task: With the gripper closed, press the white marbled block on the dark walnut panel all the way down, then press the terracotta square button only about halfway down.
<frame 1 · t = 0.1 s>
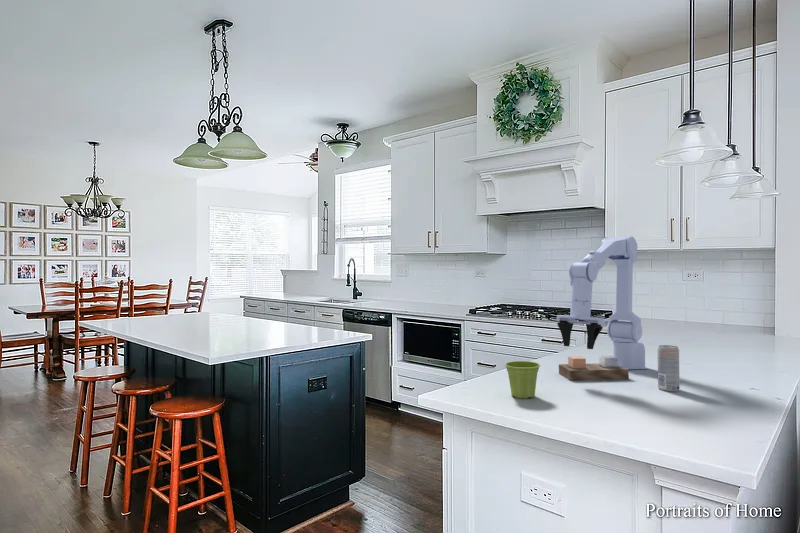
hand: (578, 347, 154), 11 cm above the counter, tool pointing down, fingers open, 7 cm apart
button panel: (592, 376, 162), on the counter
plant pot: (522, 396, 140), on the counter
energy drink: (668, 390, 145), on the counter
white marbled block: (608, 361, 162), point 4 cm above the counter, slide at 0.0 cm
terracotta button: (576, 362, 162), point 4 cm above the counter, slide at 0.0 cm
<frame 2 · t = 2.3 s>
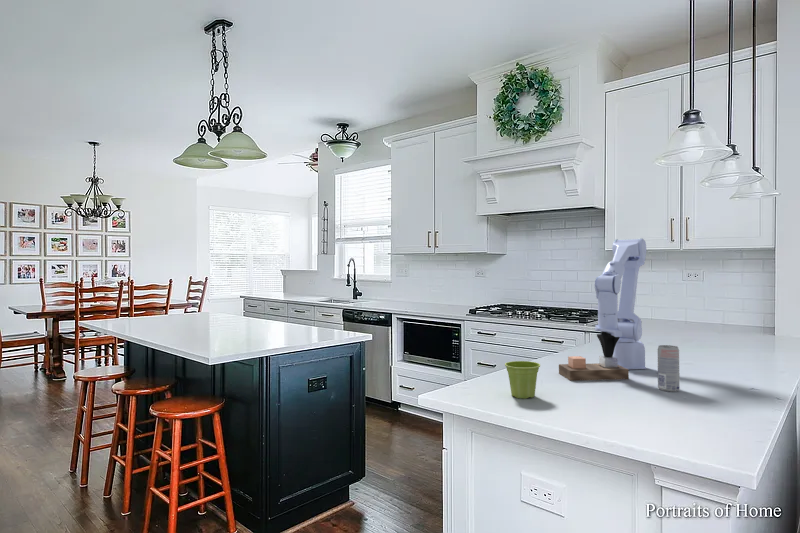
hand: (608, 357, 162), 6 cm above the counter, tool pointing down, fingers closed, pressing on white marbled block
white marbled block: (608, 361, 162), point 4 cm above the counter, slide at 0.0 cm, touching gripper
everything else where it was.
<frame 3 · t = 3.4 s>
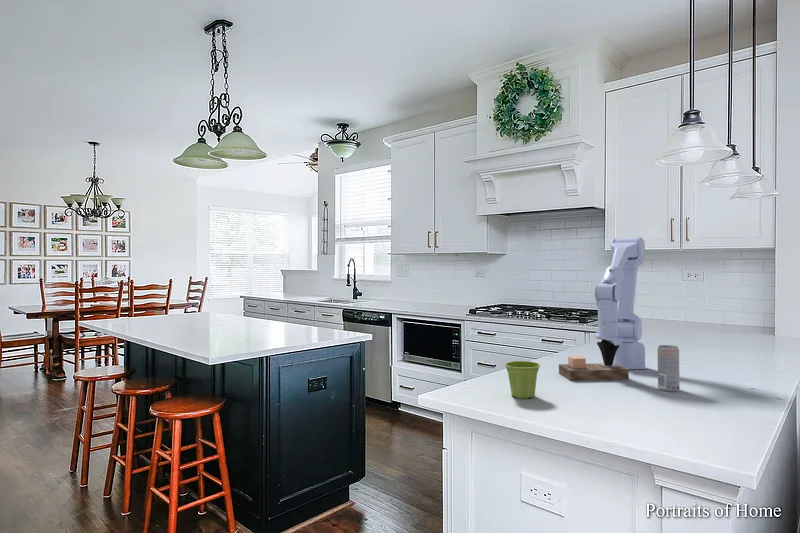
hand: (608, 364, 162), 3 cm above the counter, tool pointing down, fingers closed
white marbled block: (608, 369, 162), point 2 cm above the counter, slide at 2.5 cm
everything else where it was.
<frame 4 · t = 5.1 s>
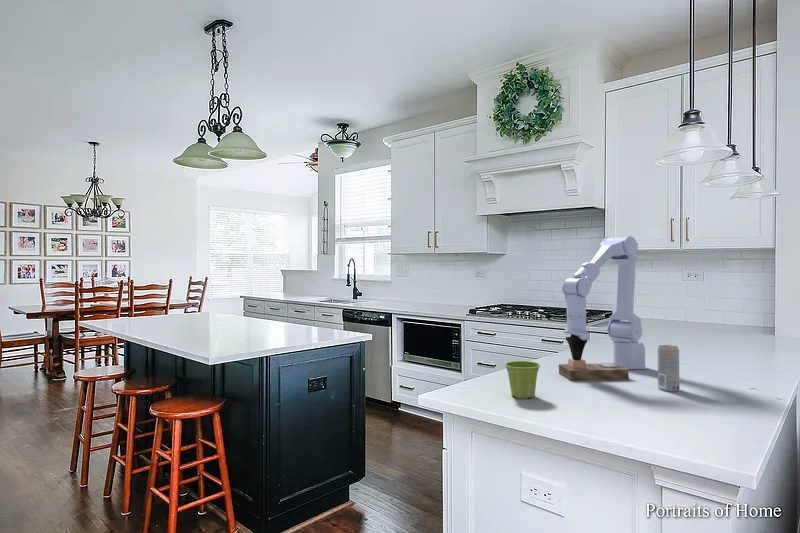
hand: (576, 359, 162), 5 cm above the counter, tool pointing down, fingers closed, pressing on terracotta button
terracotta button: (576, 364, 162), point 4 cm above the counter, slide at 0.7 cm, touching gripper
everything else where it was.
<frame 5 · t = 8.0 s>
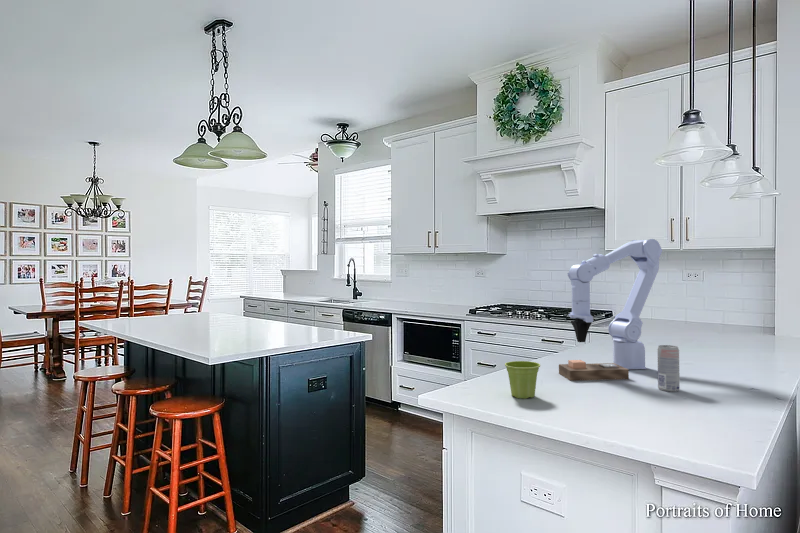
hand: (581, 341, 171), 9 cm above the counter, tool pointing down, fingers closed
terracotta button: (576, 366, 162), point 3 cm above the counter, slide at 1.1 cm
everything else where it was.
at the end: white marbled block slide at 2.5 cm; terracotta button slide at 1.1 cm; energy drink moved 0.2 cm from its start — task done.
